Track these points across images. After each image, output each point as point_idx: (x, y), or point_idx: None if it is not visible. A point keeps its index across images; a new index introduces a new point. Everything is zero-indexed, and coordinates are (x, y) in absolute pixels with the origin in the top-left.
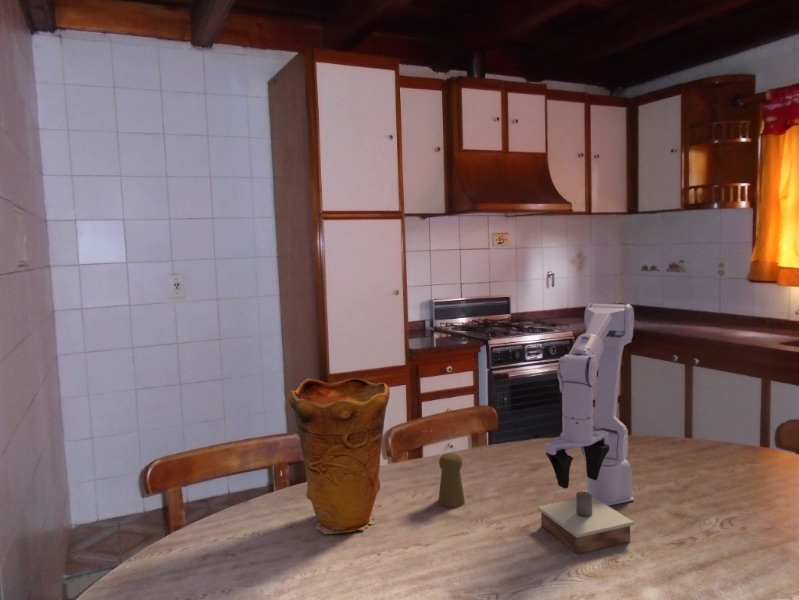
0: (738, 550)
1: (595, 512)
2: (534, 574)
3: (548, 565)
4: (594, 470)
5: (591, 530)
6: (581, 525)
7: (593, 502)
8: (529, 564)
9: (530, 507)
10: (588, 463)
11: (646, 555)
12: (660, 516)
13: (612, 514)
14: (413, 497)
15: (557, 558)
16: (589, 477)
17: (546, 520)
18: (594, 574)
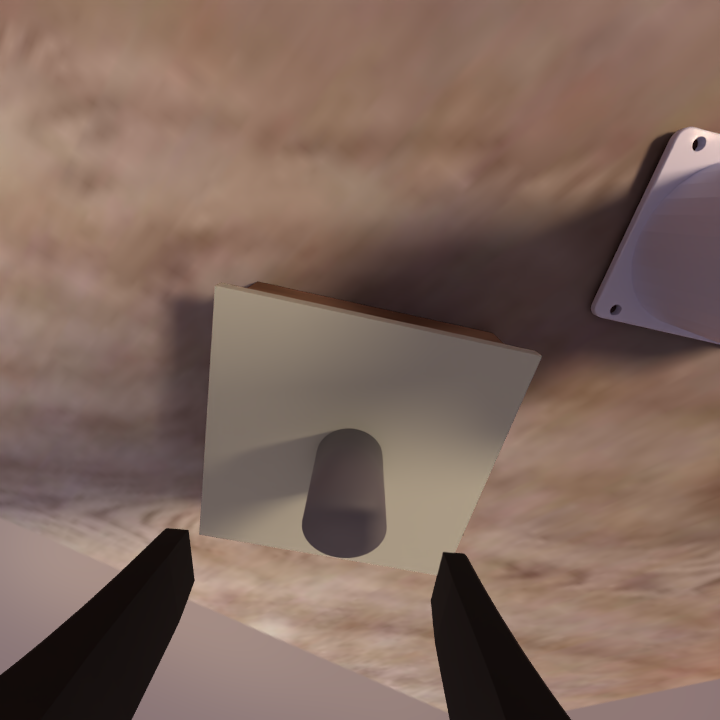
0: (587, 645)
1: (398, 472)
2: (56, 476)
3: (119, 467)
4: (447, 677)
5: (267, 542)
6: (263, 505)
7: (478, 411)
8: (68, 437)
9: (346, 88)
10: (476, 679)
11: None
12: (667, 471)
13: (436, 514)
14: None
15: (167, 458)
16: (440, 569)
17: None
18: (207, 547)
